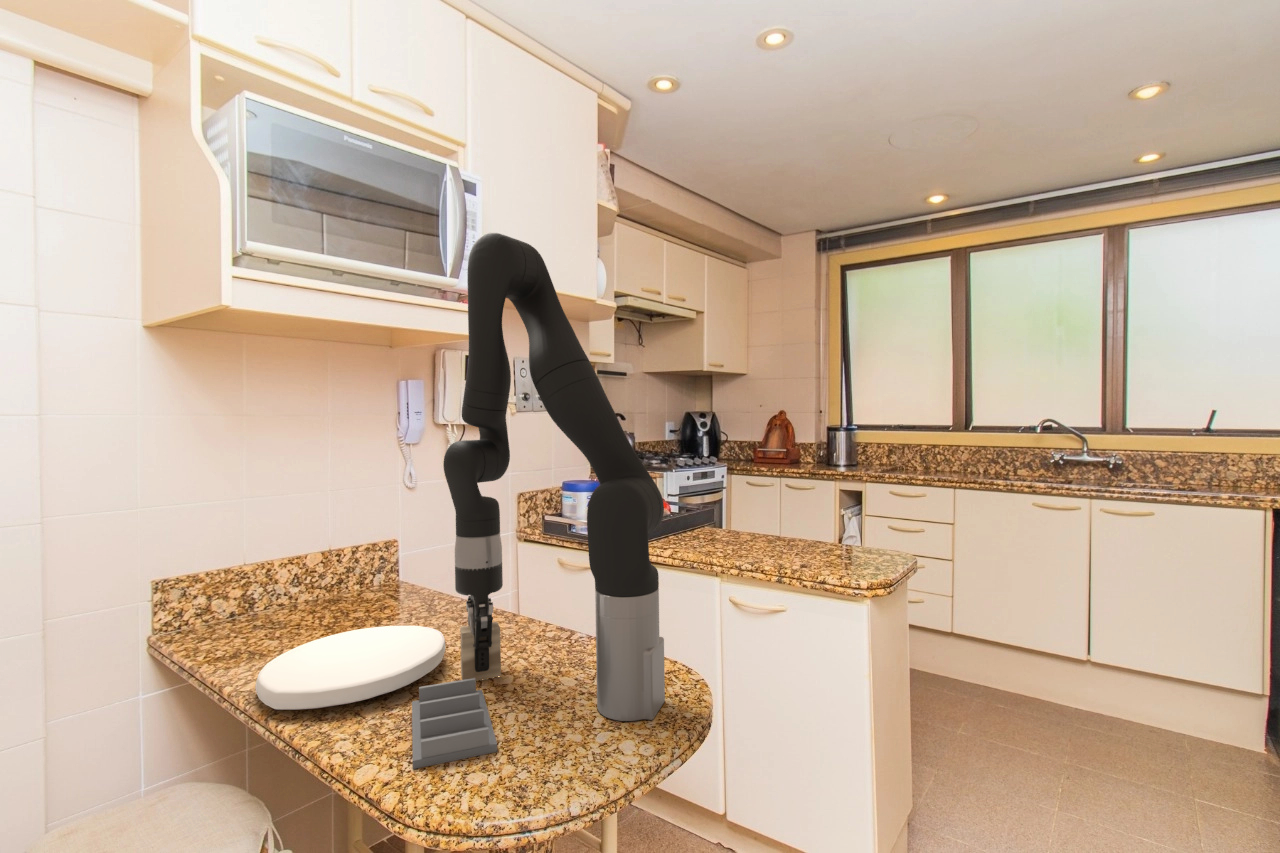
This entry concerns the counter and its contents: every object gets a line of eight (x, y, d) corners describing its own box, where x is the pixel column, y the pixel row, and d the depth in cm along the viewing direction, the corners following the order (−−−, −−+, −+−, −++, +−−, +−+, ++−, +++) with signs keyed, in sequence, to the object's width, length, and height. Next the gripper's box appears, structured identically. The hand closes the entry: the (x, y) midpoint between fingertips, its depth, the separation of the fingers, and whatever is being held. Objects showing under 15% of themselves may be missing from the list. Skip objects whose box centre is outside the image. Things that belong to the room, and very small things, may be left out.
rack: (497, 751, 77) (496, 728, 77) (412, 769, 73) (412, 744, 73) (482, 696, 92) (481, 676, 92) (412, 708, 89) (411, 687, 89)
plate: (239, 703, 81) (265, 640, 105) (246, 750, 82) (270, 677, 106) (453, 645, 93) (433, 600, 117) (459, 686, 94) (437, 633, 118)
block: (500, 677, 99) (500, 628, 99) (462, 683, 97) (462, 633, 97) (498, 669, 103) (497, 621, 103) (461, 674, 100) (460, 626, 100)
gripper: (508, 568, 94) (510, 679, 95) (496, 550, 108) (498, 647, 108) (458, 573, 92) (460, 687, 92) (452, 554, 105) (453, 654, 105)
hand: (480, 665), depth 100 cm, fingers closed on block, 3 cm apart
